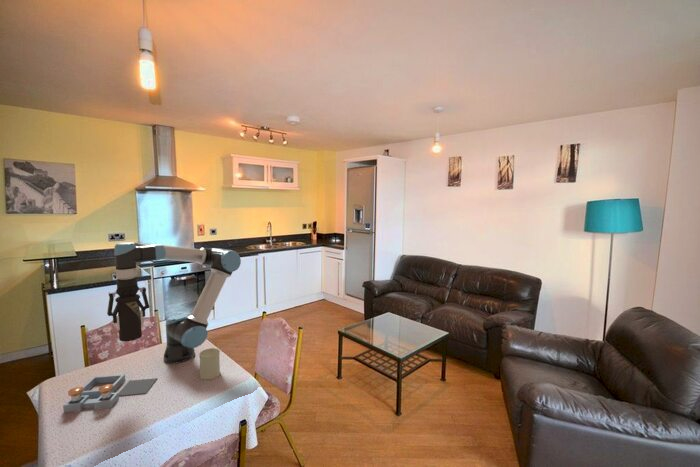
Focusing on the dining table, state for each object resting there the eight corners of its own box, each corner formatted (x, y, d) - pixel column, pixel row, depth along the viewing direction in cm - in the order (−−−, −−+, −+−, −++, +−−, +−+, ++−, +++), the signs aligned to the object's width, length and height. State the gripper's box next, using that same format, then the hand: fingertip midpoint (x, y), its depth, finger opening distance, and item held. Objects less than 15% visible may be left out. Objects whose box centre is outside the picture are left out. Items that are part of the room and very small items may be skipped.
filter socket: (125, 380, 150) (124, 374, 149) (110, 396, 137) (109, 390, 137) (94, 382, 147) (94, 376, 147) (76, 399, 135) (75, 393, 134)
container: (139, 340, 139) (137, 296, 137) (115, 343, 136) (112, 299, 134) (144, 332, 147) (142, 291, 145) (121, 335, 144) (118, 293, 142)
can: (223, 370, 160) (223, 347, 159) (214, 380, 151) (213, 356, 150) (206, 369, 161) (205, 346, 160) (196, 379, 152) (195, 355, 150)
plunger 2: (116, 397, 135) (115, 383, 134) (110, 404, 130) (109, 390, 129) (103, 399, 134) (102, 384, 133) (96, 406, 129) (96, 391, 128)
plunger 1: (87, 400, 133) (86, 386, 132) (79, 407, 128) (78, 392, 127) (74, 401, 132) (73, 387, 131) (66, 409, 127) (65, 394, 126)
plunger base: (118, 398, 135) (118, 392, 135) (111, 407, 130) (110, 401, 129) (73, 403, 132) (73, 396, 132) (63, 412, 126) (63, 405, 126)
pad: (157, 378, 151) (157, 378, 151) (146, 393, 139) (146, 392, 139) (129, 381, 149) (129, 380, 149) (116, 396, 137) (115, 395, 137)
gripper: (151, 272, 149) (154, 318, 151) (95, 279, 134) (99, 330, 137) (155, 275, 143) (158, 323, 146) (97, 283, 129) (102, 336, 131)
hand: (130, 326), depth 141 cm, fingers closed on container, 8 cm apart
